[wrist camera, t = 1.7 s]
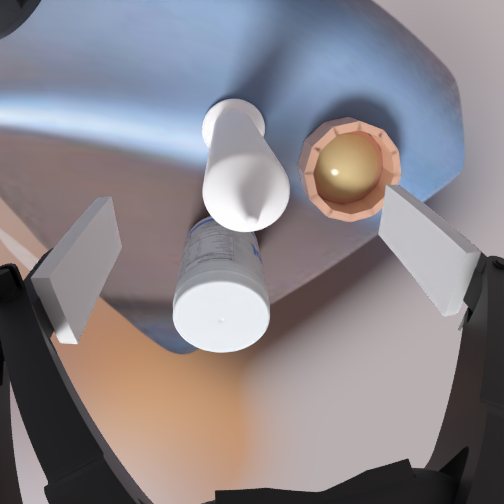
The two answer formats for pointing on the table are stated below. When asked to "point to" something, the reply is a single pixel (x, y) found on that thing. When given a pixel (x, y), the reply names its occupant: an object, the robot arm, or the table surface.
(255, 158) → the candle
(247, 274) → the supplement tub
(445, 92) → the table surface
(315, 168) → the jar dish
